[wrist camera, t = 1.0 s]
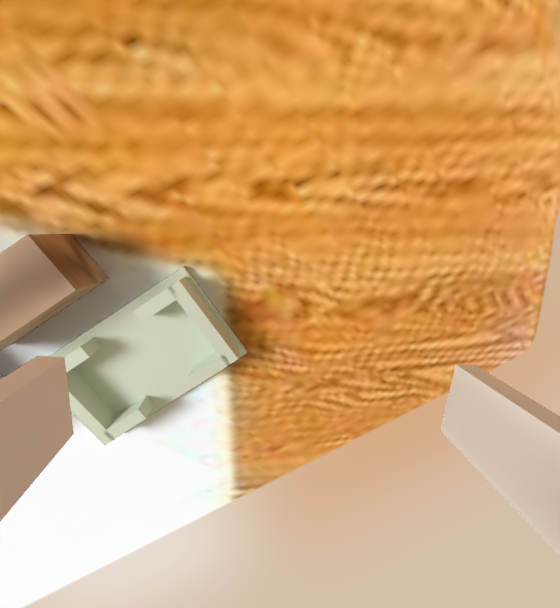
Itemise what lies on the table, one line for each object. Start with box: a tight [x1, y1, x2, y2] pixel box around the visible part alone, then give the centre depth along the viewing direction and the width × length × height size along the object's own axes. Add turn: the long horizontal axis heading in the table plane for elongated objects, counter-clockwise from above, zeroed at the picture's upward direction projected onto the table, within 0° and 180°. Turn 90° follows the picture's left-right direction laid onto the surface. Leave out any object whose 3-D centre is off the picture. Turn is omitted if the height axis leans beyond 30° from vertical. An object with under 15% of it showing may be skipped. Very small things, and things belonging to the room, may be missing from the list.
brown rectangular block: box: [0, 234, 109, 350], centre depth 31 cm, size 6×14×7 cm, turn 123°
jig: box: [49, 266, 247, 445], centre depth 35 cm, size 13×20×4 cm, turn 123°
